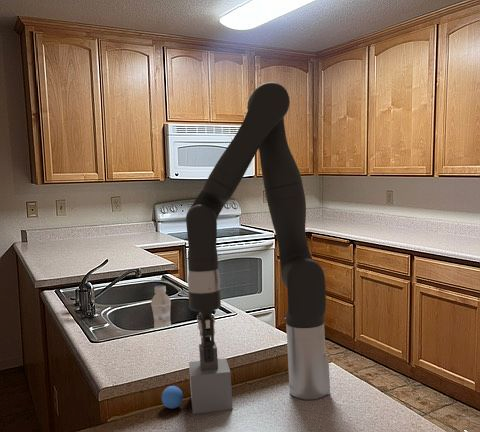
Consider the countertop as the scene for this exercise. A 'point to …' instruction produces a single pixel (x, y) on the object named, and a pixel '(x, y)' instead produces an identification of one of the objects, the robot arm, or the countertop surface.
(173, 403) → the ball
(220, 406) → the stepped gray cube pair
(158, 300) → the plastic bottle
